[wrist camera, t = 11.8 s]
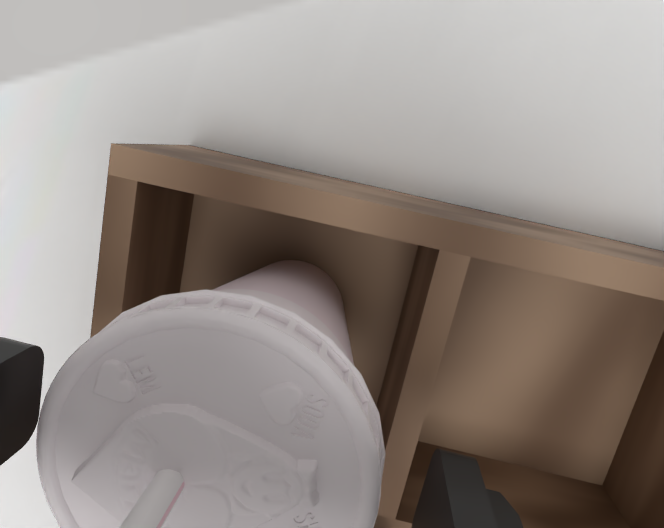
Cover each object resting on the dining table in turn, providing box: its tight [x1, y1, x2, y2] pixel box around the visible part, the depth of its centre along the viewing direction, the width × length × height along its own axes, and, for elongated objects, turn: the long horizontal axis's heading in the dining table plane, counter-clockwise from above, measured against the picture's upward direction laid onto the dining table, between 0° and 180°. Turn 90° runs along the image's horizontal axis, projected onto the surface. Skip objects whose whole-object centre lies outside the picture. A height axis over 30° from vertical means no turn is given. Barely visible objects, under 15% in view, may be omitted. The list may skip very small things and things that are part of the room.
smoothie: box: [36, 260, 385, 528], centre depth 12 cm, size 6×6×14 cm
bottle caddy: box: [90, 144, 664, 528], centre depth 17 cm, size 18×18×6 cm
